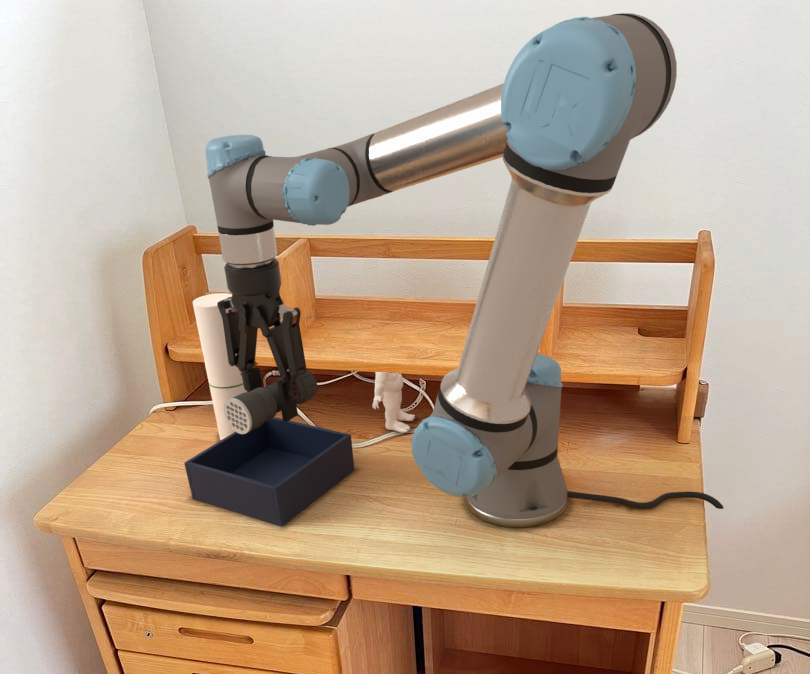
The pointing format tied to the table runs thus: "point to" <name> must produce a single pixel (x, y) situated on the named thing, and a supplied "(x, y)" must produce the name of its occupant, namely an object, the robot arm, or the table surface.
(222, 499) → the bin
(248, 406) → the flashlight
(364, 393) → the table surface
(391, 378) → the toy creature
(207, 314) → the cylindrical container
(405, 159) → the robot arm
